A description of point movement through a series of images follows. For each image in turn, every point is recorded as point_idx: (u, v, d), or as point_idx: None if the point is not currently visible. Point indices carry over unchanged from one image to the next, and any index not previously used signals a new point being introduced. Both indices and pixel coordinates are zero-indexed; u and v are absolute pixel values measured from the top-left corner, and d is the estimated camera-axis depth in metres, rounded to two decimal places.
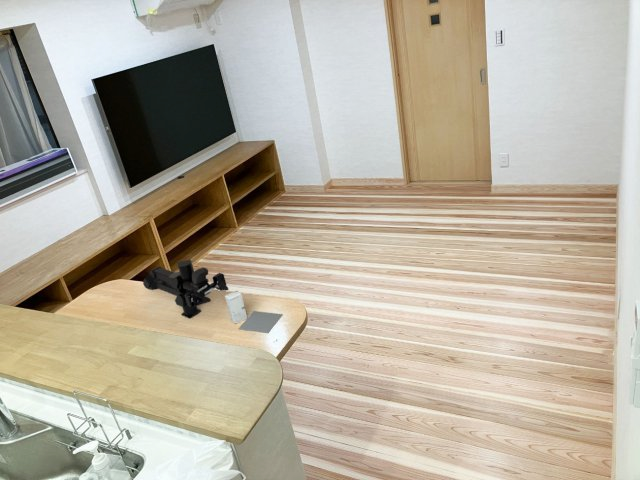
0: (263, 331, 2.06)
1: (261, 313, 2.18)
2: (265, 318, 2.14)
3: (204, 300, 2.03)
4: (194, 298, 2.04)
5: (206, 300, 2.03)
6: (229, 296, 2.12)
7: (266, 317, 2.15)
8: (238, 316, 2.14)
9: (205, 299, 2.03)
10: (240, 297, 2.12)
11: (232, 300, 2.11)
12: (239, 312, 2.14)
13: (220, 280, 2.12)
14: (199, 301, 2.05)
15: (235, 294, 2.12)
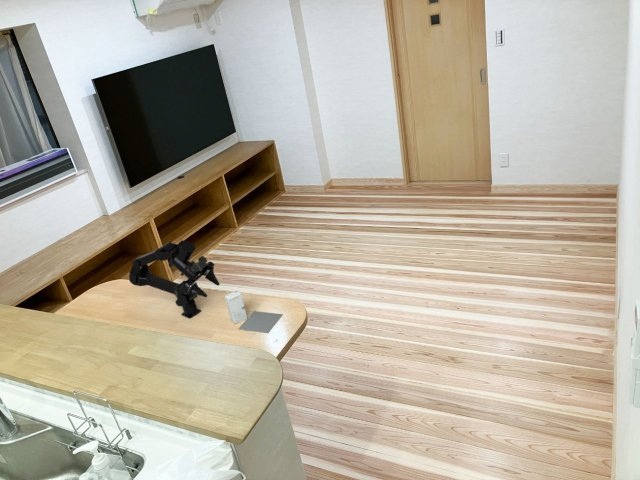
0: (263, 331, 2.06)
1: (261, 313, 2.18)
2: (265, 318, 2.14)
3: (200, 293, 2.11)
4: (191, 288, 2.10)
5: (203, 294, 2.12)
6: (229, 296, 2.12)
7: (266, 317, 2.15)
8: (238, 316, 2.14)
9: (202, 293, 2.11)
10: (240, 297, 2.12)
11: (232, 300, 2.11)
12: (239, 312, 2.14)
13: (212, 272, 2.19)
14: (193, 291, 2.12)
15: (235, 294, 2.12)
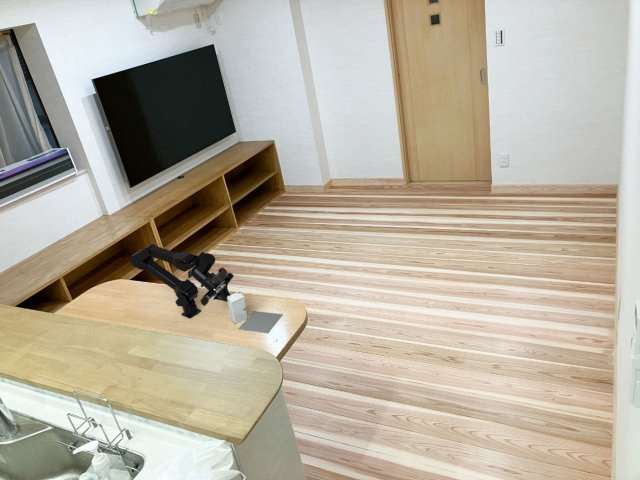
0: (263, 331, 2.06)
1: (261, 313, 2.18)
2: (265, 318, 2.14)
3: (226, 299, 2.13)
4: (218, 294, 2.11)
5: None
6: (232, 298, 2.09)
7: (266, 317, 2.15)
8: (239, 317, 2.14)
9: None
10: (242, 300, 2.11)
11: (235, 303, 2.09)
12: (240, 313, 2.13)
13: (226, 289, 2.14)
14: (219, 297, 2.13)
15: (238, 296, 2.10)
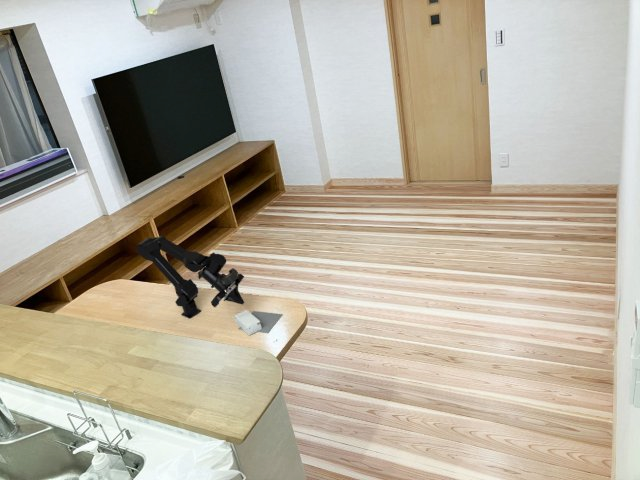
0: (263, 331, 2.06)
1: (261, 313, 2.18)
2: (265, 318, 2.14)
3: (237, 301, 2.11)
4: (228, 296, 2.09)
5: (239, 302, 2.11)
6: (251, 330, 2.05)
7: (266, 317, 2.15)
8: None
9: (238, 301, 2.11)
10: None
11: None
12: None
13: (237, 290, 2.12)
14: (230, 298, 2.11)
15: (256, 329, 2.06)
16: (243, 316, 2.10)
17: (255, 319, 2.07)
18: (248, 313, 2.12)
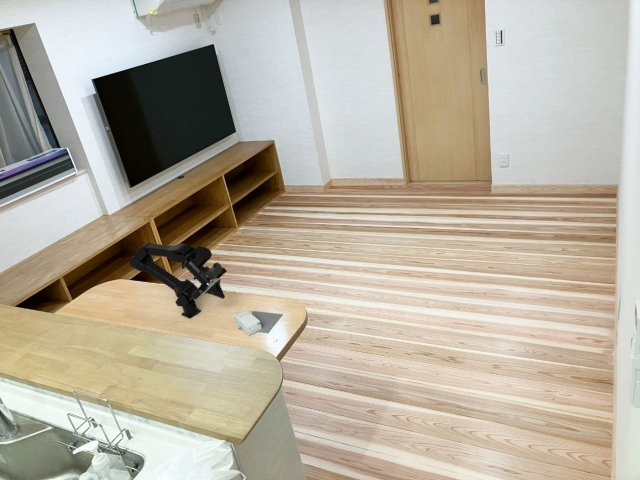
0: (263, 331, 2.06)
1: (261, 313, 2.18)
2: (265, 318, 2.14)
3: (217, 295, 2.14)
4: (210, 289, 2.12)
5: (220, 296, 2.14)
6: (251, 330, 2.05)
7: (266, 317, 2.15)
8: None
9: (219, 295, 2.14)
10: None
11: None
12: None
13: (219, 284, 2.15)
14: (211, 291, 2.14)
15: (256, 329, 2.06)
16: (243, 316, 2.10)
17: (255, 319, 2.07)
18: (248, 313, 2.12)
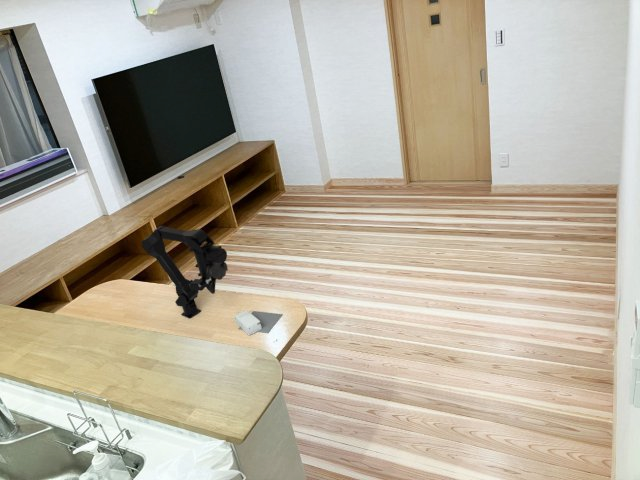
0: (263, 331, 2.06)
1: (261, 313, 2.18)
2: (265, 318, 2.14)
3: (209, 289, 2.14)
4: None
5: (211, 291, 2.15)
6: (251, 330, 2.05)
7: (266, 317, 2.15)
8: None
9: (211, 290, 2.14)
10: None
11: None
12: None
13: (215, 280, 2.14)
14: None
15: (256, 329, 2.06)
16: (243, 316, 2.10)
17: (255, 319, 2.07)
18: (248, 313, 2.12)
